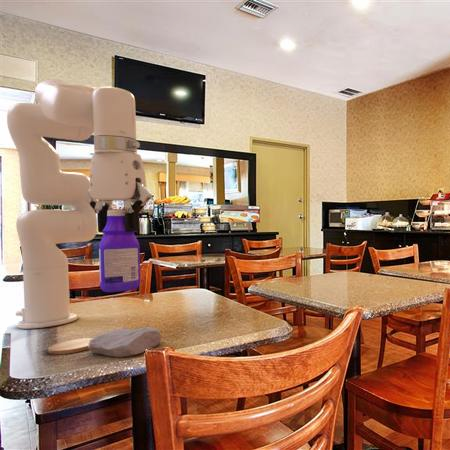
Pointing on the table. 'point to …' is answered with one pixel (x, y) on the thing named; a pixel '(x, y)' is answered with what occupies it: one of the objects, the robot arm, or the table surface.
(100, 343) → the stone block
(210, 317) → the table surface
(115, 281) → the bottle
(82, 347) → the cork coaster
